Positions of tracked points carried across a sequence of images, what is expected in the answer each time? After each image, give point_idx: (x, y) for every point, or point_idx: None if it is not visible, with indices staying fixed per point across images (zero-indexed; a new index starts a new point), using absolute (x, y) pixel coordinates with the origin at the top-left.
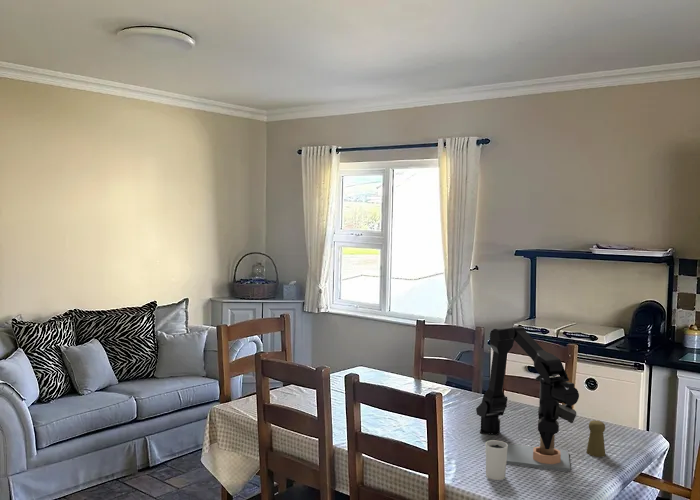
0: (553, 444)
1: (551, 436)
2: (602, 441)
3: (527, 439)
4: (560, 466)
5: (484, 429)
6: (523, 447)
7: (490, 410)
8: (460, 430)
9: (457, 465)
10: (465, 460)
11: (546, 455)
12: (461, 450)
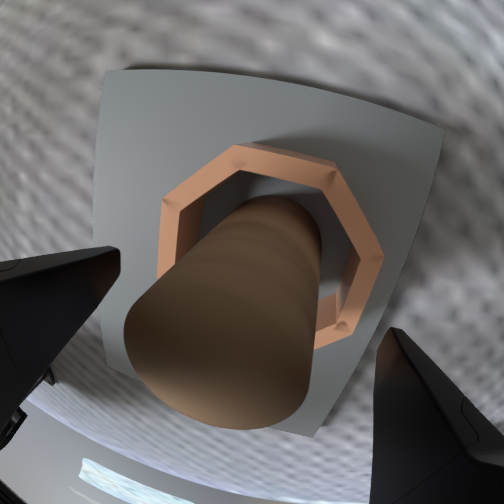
0: (293, 261)
1: (495, 447)
2: None
3: (25, 252)
4: (412, 186)
5: (40, 378)
6: (124, 321)
7: (8, 431)
8: (65, 413)
9: (325, 499)
10: (287, 486)
11: (357, 298)
12: (207, 473)
